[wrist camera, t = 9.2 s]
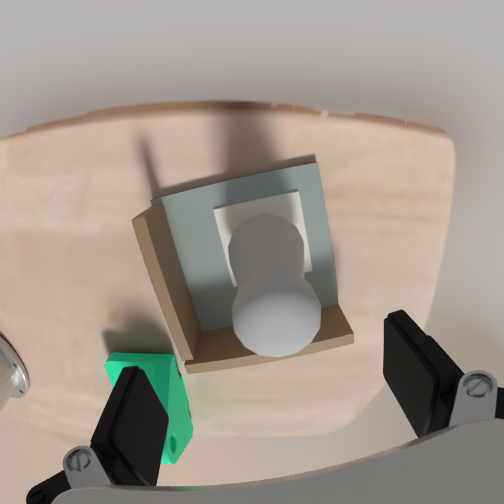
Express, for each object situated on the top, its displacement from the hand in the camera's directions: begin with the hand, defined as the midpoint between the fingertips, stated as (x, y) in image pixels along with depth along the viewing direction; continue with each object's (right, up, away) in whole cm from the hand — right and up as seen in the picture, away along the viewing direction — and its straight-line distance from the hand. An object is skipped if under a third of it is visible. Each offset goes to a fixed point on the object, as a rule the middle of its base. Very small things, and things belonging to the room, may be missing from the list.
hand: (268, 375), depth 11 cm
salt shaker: (0, +5, +15) cm, 16 cm away
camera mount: (-12, -11, +22) cm, 27 cm away
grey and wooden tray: (-1, +4, +16) cm, 17 cm away
